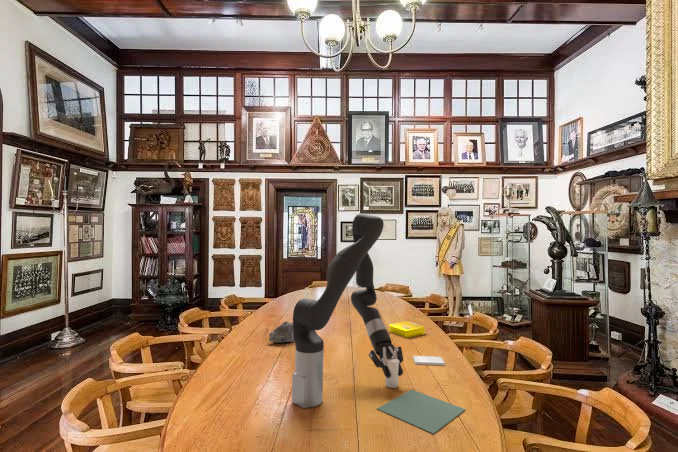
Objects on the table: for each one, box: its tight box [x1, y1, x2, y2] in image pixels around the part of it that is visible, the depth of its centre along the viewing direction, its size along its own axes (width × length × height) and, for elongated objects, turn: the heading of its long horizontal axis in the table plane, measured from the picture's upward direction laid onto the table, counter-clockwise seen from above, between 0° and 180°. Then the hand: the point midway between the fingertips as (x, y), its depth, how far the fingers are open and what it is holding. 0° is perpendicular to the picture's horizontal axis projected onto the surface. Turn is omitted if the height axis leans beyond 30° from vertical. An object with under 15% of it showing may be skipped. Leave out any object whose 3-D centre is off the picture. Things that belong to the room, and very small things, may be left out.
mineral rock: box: [268, 320, 295, 344], centre depth 186 cm, size 13×11×10 cm
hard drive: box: [412, 355, 446, 366], centre depth 162 cm, size 2×8×12 cm
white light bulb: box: [385, 357, 399, 389], centre depth 136 cm, size 4×4×9 cm
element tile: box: [388, 320, 426, 339], centre depth 207 cm, size 15×15×5 cm
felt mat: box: [376, 389, 466, 435], centre depth 119 cm, size 20×20×1 cm
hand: (395, 375), depth 135 cm, fingers closed on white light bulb, 4 cm apart
